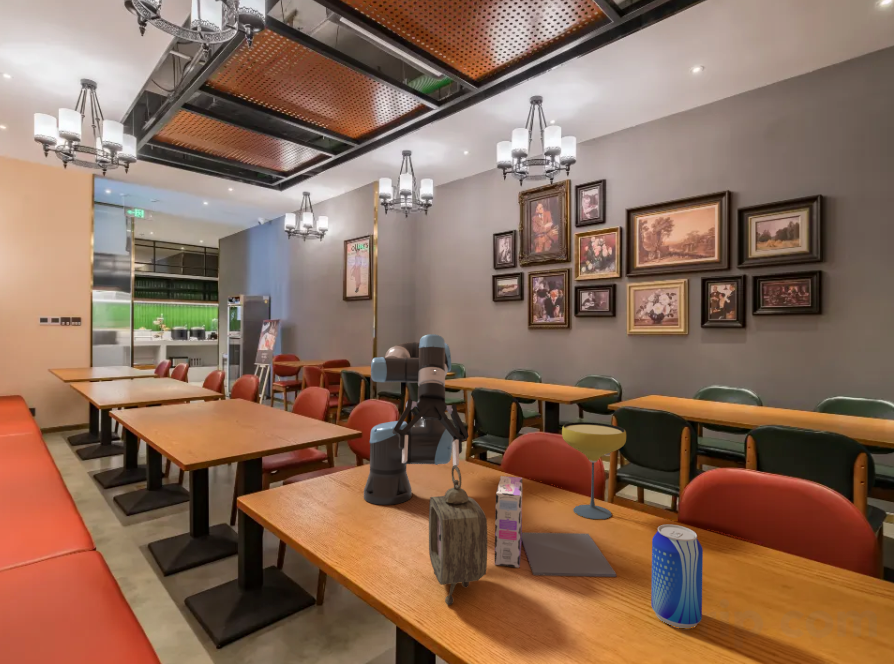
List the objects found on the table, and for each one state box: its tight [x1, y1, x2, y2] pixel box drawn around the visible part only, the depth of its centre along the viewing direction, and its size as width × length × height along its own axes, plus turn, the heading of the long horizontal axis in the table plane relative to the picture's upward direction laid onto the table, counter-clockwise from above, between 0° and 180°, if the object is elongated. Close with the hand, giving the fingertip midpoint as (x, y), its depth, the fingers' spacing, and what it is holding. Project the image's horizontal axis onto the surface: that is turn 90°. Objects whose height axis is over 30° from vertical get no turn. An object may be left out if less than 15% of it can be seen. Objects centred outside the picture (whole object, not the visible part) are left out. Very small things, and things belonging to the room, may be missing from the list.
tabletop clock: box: [428, 465, 488, 606], centre depth 94 cm, size 14×9×25 cm, turn 13°
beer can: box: [650, 524, 704, 629], centre depth 85 cm, size 8×8×16 cm
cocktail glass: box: [561, 421, 627, 520], centre depth 135 cm, size 18×18×25 cm
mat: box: [521, 531, 617, 578], centre depth 109 cm, size 20×18×1 cm
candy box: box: [494, 475, 523, 568], centre depth 109 cm, size 14×6×16 cm, turn 169°
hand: (430, 464), depth 116 cm, fingers open, 13 cm apart
